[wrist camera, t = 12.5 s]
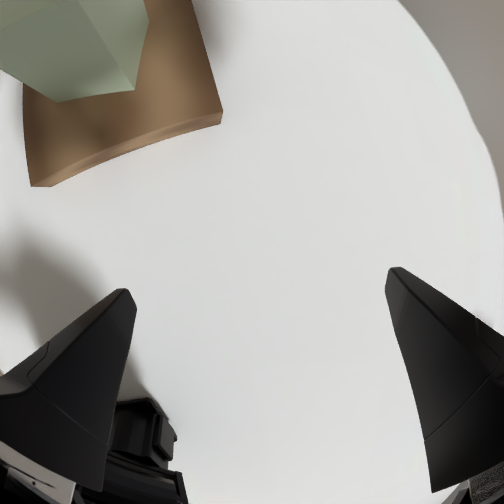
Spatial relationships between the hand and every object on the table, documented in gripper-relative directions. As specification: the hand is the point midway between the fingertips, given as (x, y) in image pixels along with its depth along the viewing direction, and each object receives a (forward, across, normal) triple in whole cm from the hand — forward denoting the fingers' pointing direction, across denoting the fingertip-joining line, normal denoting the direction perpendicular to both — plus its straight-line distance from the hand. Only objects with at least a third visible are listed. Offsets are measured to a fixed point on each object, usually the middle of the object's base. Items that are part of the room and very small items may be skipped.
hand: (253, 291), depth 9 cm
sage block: (+10, +9, -11) cm, 18 cm away
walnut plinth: (+13, +10, -10) cm, 20 cm away
